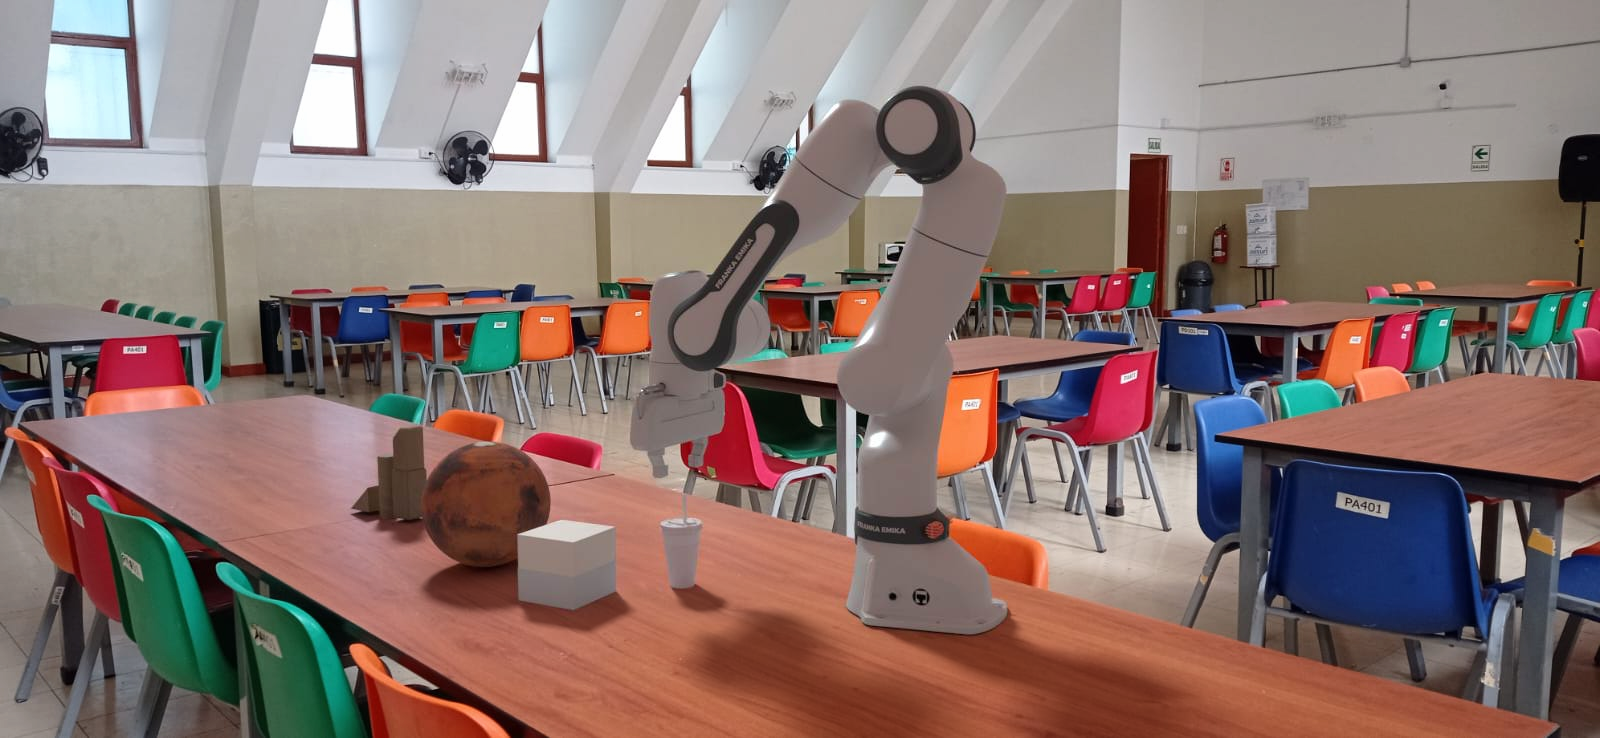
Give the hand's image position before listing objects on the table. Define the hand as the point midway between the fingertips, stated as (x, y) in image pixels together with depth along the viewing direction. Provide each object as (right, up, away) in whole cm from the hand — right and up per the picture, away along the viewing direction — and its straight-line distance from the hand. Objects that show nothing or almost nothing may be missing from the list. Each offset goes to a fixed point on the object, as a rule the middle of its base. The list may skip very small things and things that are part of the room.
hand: (678, 471), depth 170 cm
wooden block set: (-60, -13, +46) cm, 77 cm away
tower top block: (-16, -13, -4) cm, 21 cm away
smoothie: (0, -18, +2) cm, 18 cm away
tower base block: (-16, -18, -3) cm, 24 cm away
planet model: (-32, -16, +13) cm, 38 cm away
